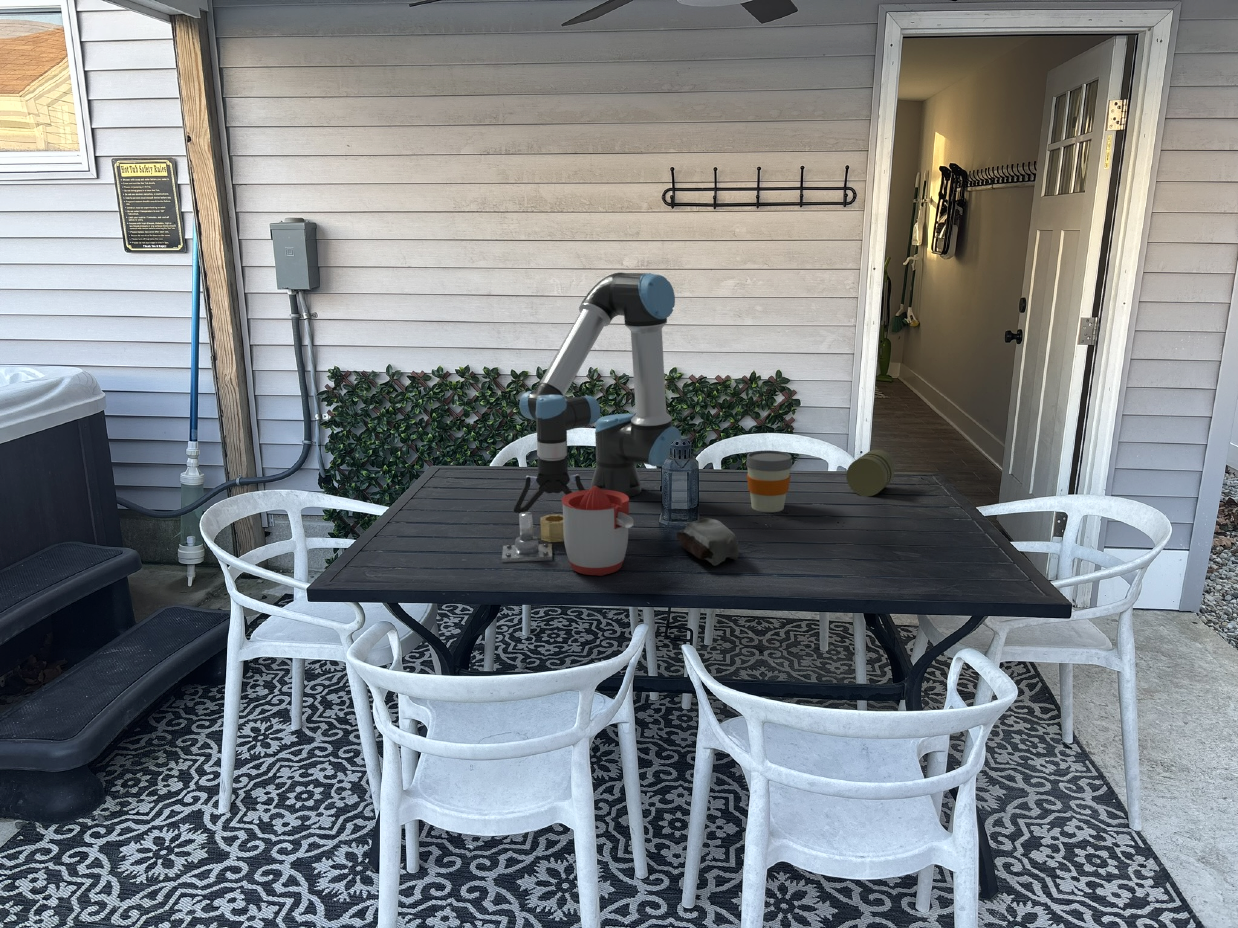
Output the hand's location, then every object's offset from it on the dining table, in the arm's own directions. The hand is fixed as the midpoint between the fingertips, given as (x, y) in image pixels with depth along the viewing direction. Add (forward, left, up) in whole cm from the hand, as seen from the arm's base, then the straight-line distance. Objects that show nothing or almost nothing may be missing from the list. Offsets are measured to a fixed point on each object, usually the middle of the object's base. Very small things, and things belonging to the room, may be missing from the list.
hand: (554, 536), depth 240 cm
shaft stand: (+7, +12, 0) cm, 14 cm away
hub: (0, 0, 0) cm, 0 cm away
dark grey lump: (-36, +19, -1) cm, 41 cm away
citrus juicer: (-10, +23, 0) cm, 25 cm away
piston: (-94, -30, 0) cm, 99 cm away
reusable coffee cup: (-60, -18, 0) cm, 63 cm away
